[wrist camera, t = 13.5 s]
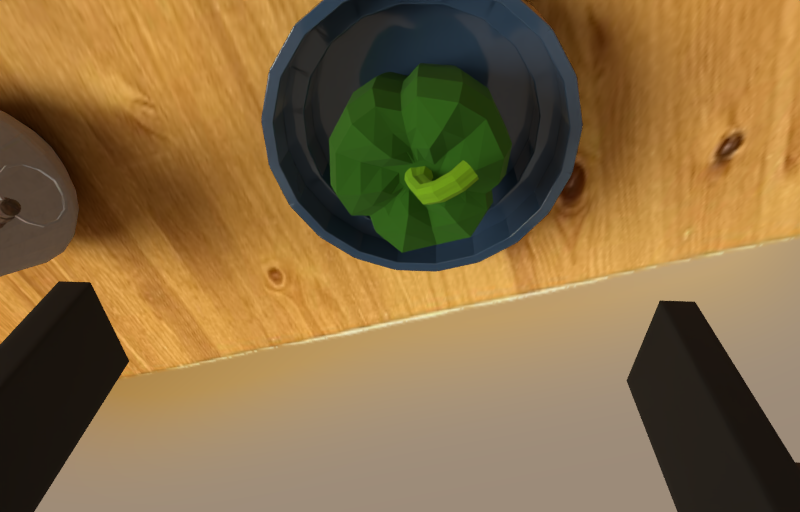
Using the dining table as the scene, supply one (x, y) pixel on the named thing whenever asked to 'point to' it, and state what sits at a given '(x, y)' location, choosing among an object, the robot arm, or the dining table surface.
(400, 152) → the bell pepper
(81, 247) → the dining table surface
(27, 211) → the coffee pot
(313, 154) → the bowl
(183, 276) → the dining table surface
